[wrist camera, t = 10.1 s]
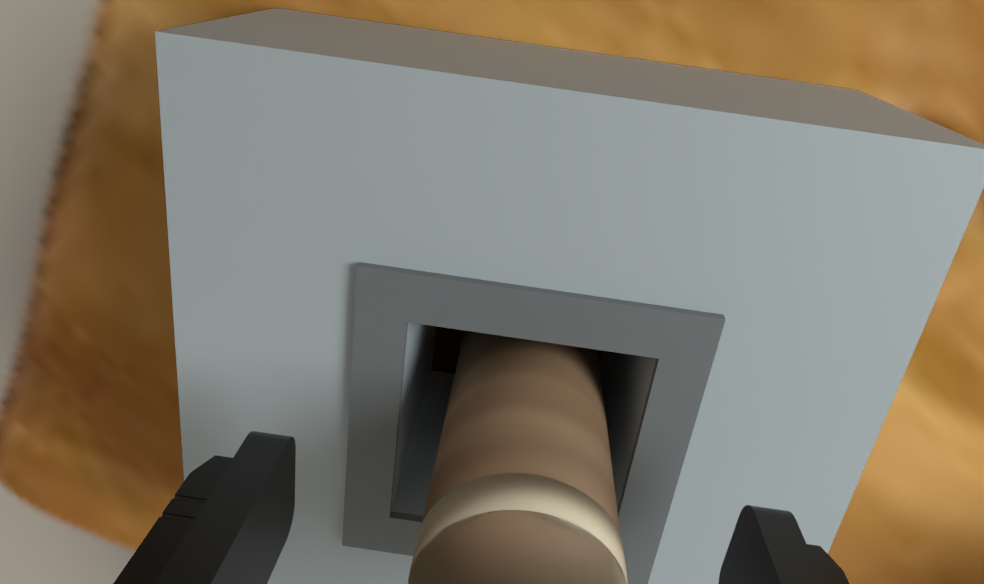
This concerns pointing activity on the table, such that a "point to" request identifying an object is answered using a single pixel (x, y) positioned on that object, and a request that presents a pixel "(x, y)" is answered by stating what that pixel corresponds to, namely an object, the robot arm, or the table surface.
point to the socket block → (541, 269)
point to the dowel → (522, 471)
